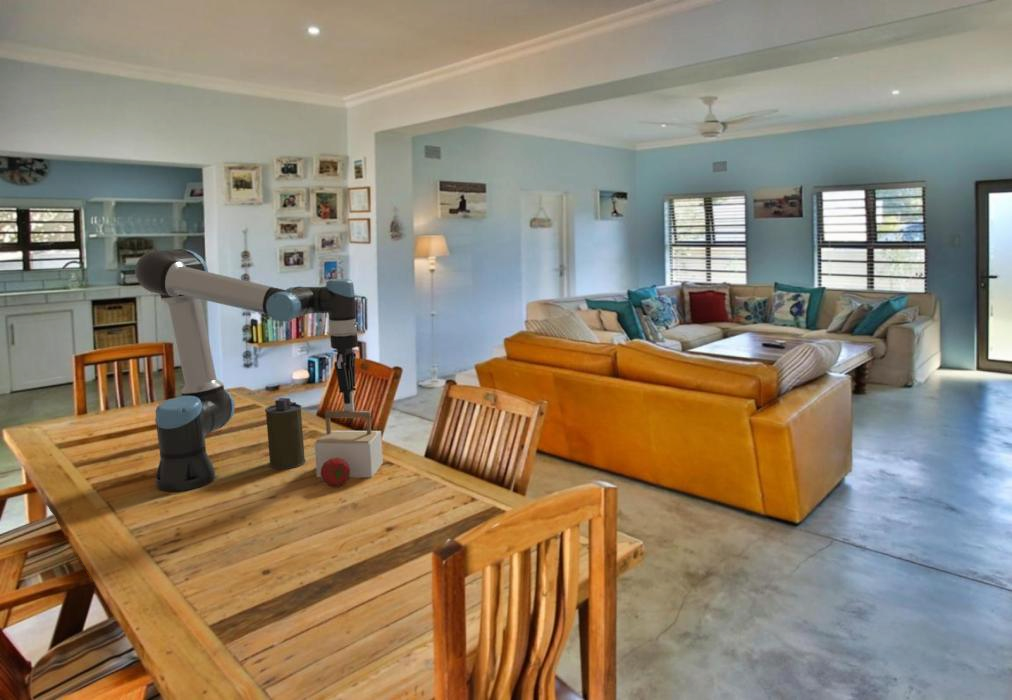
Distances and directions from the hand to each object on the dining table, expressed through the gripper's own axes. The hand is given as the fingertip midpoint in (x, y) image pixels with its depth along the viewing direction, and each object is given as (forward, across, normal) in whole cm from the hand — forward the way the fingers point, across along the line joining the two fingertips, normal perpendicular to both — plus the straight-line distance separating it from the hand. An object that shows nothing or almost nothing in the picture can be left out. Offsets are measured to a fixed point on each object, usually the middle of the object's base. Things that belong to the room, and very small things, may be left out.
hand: (349, 413), depth 195 cm
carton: (+17, -2, 0) cm, 17 cm away
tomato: (+17, -15, 0) cm, 22 cm away
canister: (+17, +3, +21) cm, 27 cm away
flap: (+6, -4, 0) cm, 7 cm away
